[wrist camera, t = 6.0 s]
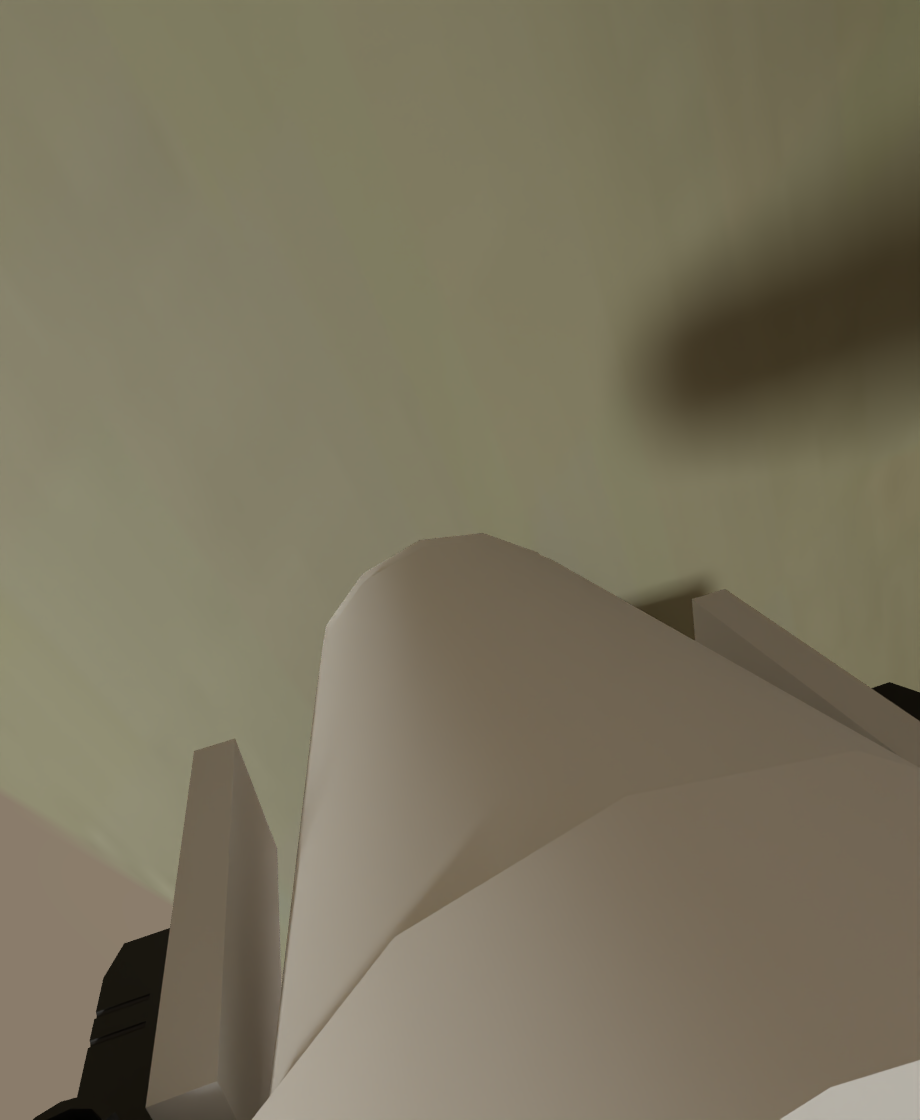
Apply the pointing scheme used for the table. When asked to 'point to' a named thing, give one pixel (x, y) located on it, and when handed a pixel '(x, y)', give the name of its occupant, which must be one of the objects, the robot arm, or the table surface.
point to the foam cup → (585, 870)
